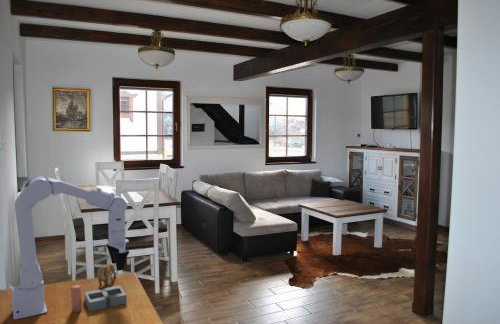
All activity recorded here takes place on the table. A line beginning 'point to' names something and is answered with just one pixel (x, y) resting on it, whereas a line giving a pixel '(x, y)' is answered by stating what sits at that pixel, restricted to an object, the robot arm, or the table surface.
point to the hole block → (105, 298)
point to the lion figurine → (105, 274)
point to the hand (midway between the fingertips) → (117, 266)
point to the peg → (76, 298)
